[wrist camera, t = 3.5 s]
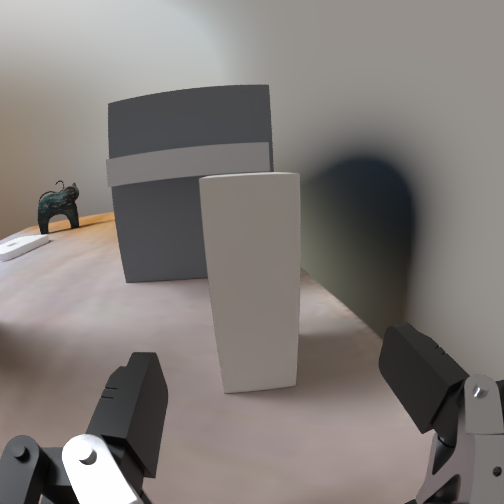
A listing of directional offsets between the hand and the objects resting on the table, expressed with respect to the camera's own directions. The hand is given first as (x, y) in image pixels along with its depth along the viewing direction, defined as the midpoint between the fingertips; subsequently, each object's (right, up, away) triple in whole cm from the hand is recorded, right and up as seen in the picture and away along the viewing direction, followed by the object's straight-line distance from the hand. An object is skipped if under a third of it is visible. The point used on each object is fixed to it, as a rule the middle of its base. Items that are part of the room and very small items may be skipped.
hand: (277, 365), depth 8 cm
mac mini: (-78, +3, +54) cm, 95 cm away
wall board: (-8, 0, +29) cm, 30 cm away
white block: (-1, -4, +14) cm, 15 cm away
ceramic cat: (-78, +12, +80) cm, 112 cm away
